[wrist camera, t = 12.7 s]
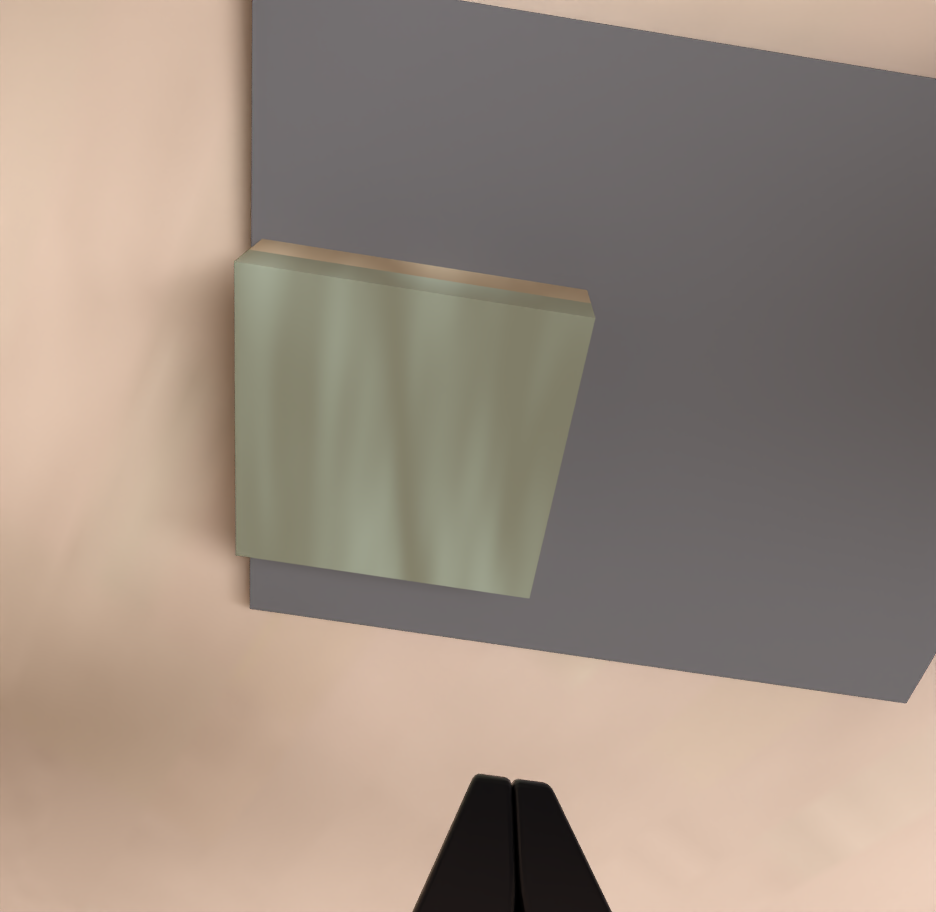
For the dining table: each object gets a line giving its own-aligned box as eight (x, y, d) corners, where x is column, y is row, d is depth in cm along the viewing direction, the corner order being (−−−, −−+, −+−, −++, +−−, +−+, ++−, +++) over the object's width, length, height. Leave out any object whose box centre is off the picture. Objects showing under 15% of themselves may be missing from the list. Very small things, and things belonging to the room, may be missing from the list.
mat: (1226, 127, 13) (1246, 130, 12) (899, 690, 19) (906, 703, 18) (259, -32, 12) (252, -34, 12) (255, 597, 18) (250, 608, 18)
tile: (595, 318, 13) (234, 261, 12) (529, 598, 16) (235, 555, 15) (587, 290, 14) (262, 238, 14) (527, 552, 17) (258, 511, 17)
